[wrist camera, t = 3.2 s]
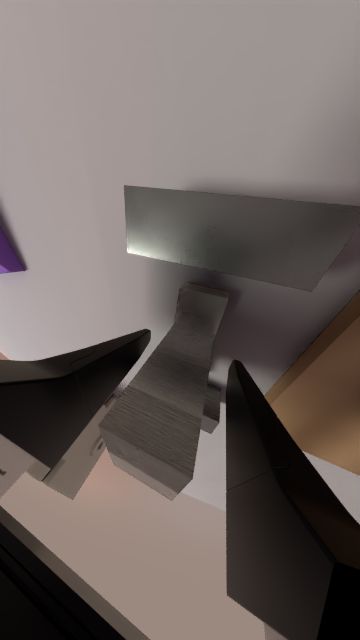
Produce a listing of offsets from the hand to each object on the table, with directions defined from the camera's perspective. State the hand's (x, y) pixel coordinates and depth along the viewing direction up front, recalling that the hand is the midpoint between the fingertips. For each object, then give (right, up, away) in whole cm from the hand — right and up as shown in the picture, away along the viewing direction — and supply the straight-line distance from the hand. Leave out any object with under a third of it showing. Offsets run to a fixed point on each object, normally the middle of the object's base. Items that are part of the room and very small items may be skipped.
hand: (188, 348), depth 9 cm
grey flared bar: (+1, +1, +2) cm, 2 cm away
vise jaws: (+1, +1, +2) cm, 2 cm away
